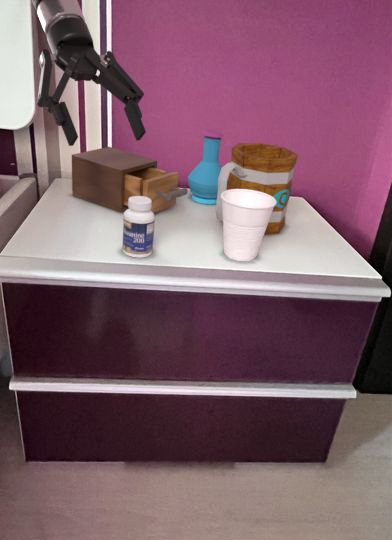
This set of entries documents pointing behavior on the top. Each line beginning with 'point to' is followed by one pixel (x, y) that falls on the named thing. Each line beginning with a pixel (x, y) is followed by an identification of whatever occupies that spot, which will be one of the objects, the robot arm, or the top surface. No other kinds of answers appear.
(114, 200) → the cabinet
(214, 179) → the perfume bottle
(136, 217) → the pill bottle
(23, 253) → the top surface
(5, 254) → the top surface
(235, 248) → the cup
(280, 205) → the mug
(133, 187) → the drawer
